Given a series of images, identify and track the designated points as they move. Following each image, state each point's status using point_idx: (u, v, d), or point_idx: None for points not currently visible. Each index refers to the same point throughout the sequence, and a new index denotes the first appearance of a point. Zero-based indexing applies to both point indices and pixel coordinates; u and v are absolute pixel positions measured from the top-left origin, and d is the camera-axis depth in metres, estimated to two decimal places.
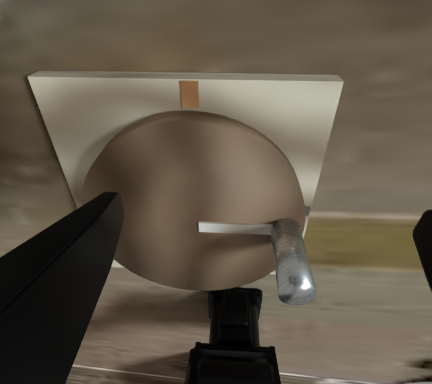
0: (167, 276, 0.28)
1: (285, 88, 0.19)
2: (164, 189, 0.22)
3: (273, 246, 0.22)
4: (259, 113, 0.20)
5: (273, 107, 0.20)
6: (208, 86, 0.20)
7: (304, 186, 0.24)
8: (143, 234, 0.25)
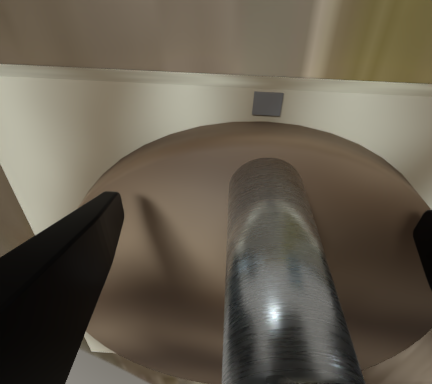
0: (369, 350, 0.16)
1: (11, 163, 0.13)
2: (171, 329, 0.16)
3: None
4: (61, 194, 0.13)
5: (45, 176, 0.13)
6: None
7: (193, 113, 0.11)
8: None
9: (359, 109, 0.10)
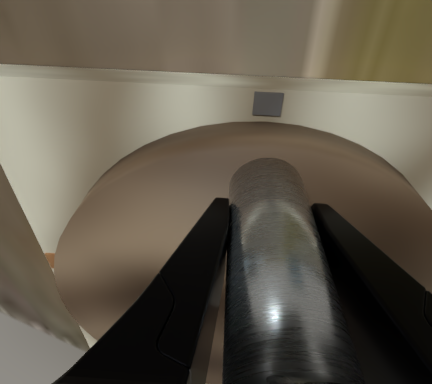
0: None
1: (11, 163, 0.13)
2: None
3: None
4: (62, 194, 0.13)
5: (46, 177, 0.13)
6: (47, 244, 0.16)
7: (194, 113, 0.11)
8: None
9: (359, 109, 0.10)
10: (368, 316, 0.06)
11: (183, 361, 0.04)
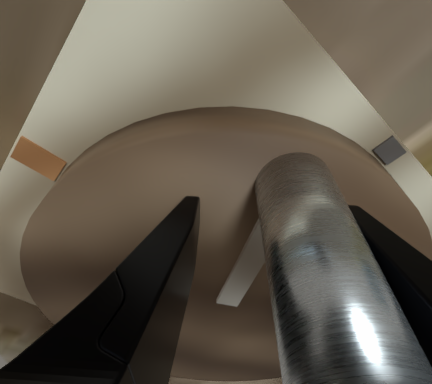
0: None
1: (103, 11, 0.09)
2: None
3: None
4: (128, 90, 0.10)
5: (130, 59, 0.09)
6: (37, 129, 0.11)
7: (338, 116, 0.10)
8: (222, 350, 0.17)
9: (427, 194, 0.13)
10: (415, 319, 0.05)
11: (122, 357, 0.04)
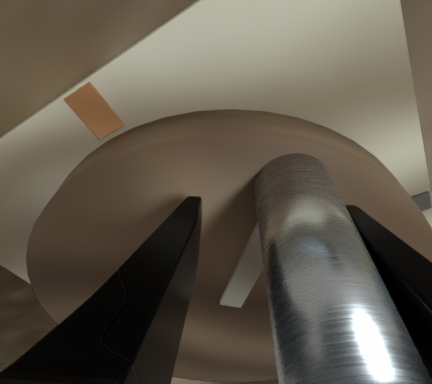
0: None
1: None
2: None
3: None
4: (229, 75, 0.10)
5: (248, 47, 0.09)
6: (111, 80, 0.10)
7: (396, 162, 0.12)
8: (228, 351, 0.17)
9: None
10: (412, 319, 0.05)
11: (126, 357, 0.04)
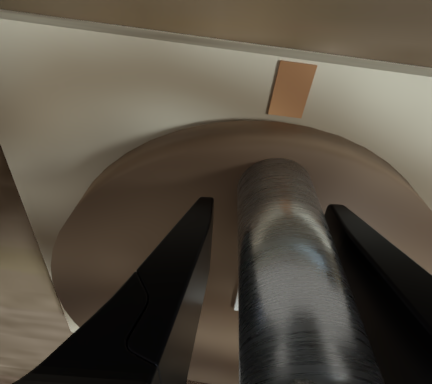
0: None
1: None
2: None
3: None
4: (409, 140, 0.11)
5: None
6: (333, 78, 0.10)
7: None
8: None
9: None
10: (392, 318, 0.05)
11: (151, 359, 0.04)
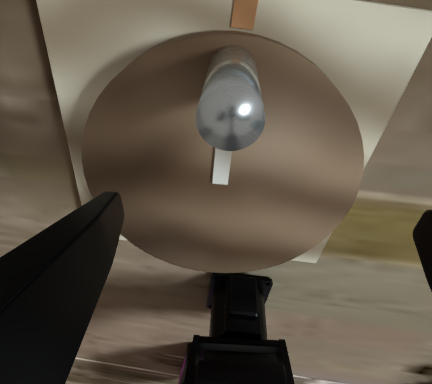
0: (311, 228, 0.21)
1: (369, 14, 0.15)
2: (165, 205, 0.21)
3: None
4: (327, 47, 0.16)
5: (347, 40, 0.16)
6: None
7: None
8: (231, 235, 0.22)
9: None
10: None
11: None
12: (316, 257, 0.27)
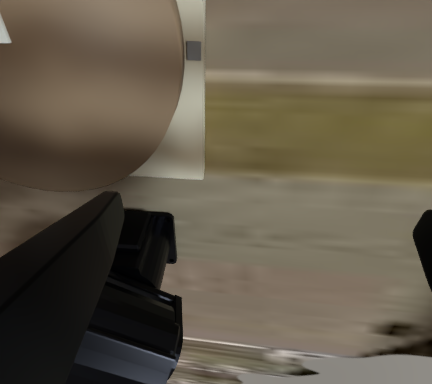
0: (146, 108, 0.17)
1: None
2: None
3: None
4: None
5: None
6: None
7: None
8: (58, 130, 0.18)
9: (194, 105, 0.19)
10: None
11: None
12: (200, 171, 0.22)
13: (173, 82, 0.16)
